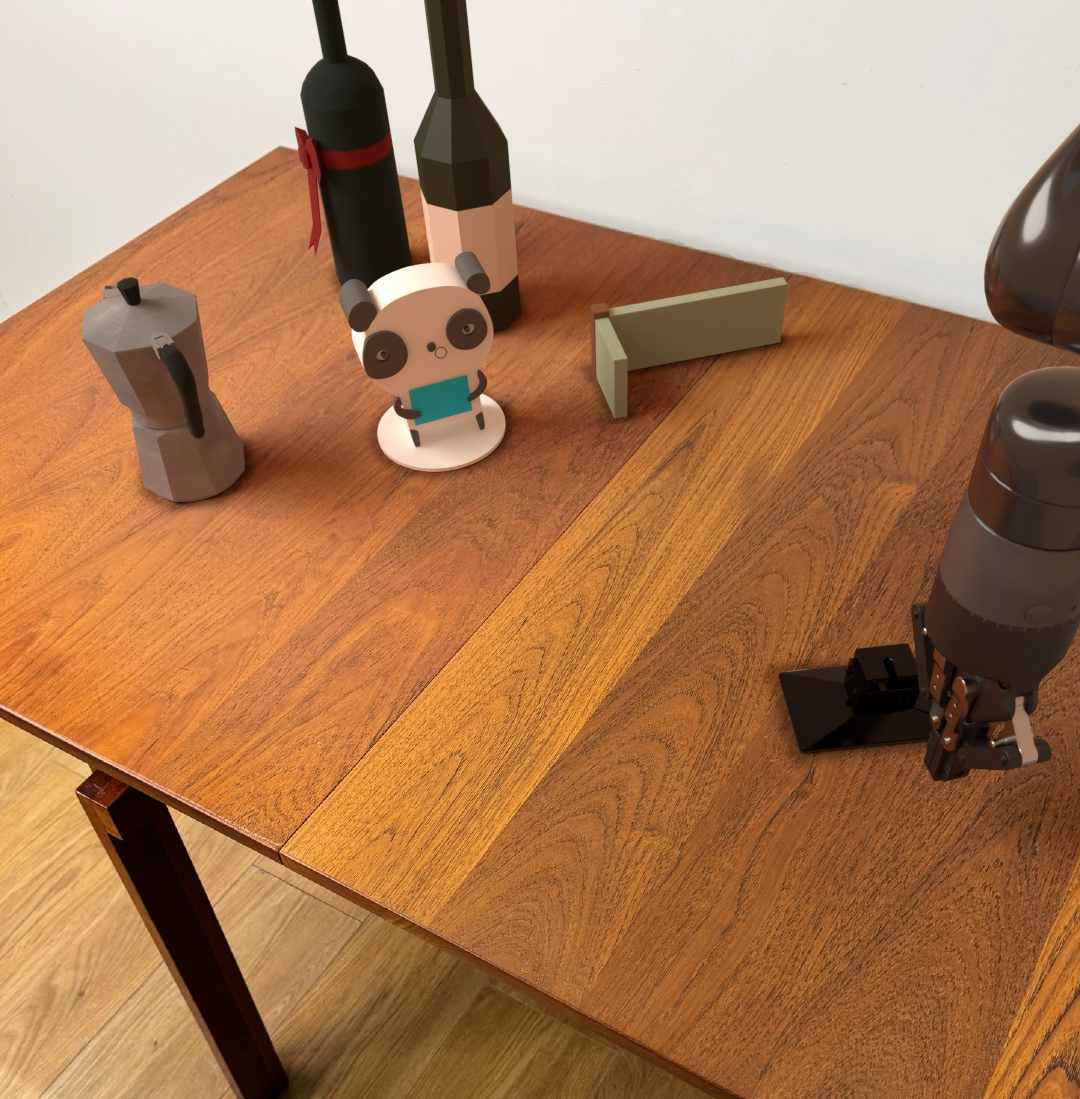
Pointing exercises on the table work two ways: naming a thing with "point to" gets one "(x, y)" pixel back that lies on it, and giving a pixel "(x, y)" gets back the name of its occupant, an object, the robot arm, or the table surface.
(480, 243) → the wine bottle
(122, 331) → the coffeepot
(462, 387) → the panda figurine
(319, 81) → the wine bottle
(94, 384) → the table surface
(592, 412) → the table surface
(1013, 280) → the robot arm
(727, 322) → the corner rails
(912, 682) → the build plate
